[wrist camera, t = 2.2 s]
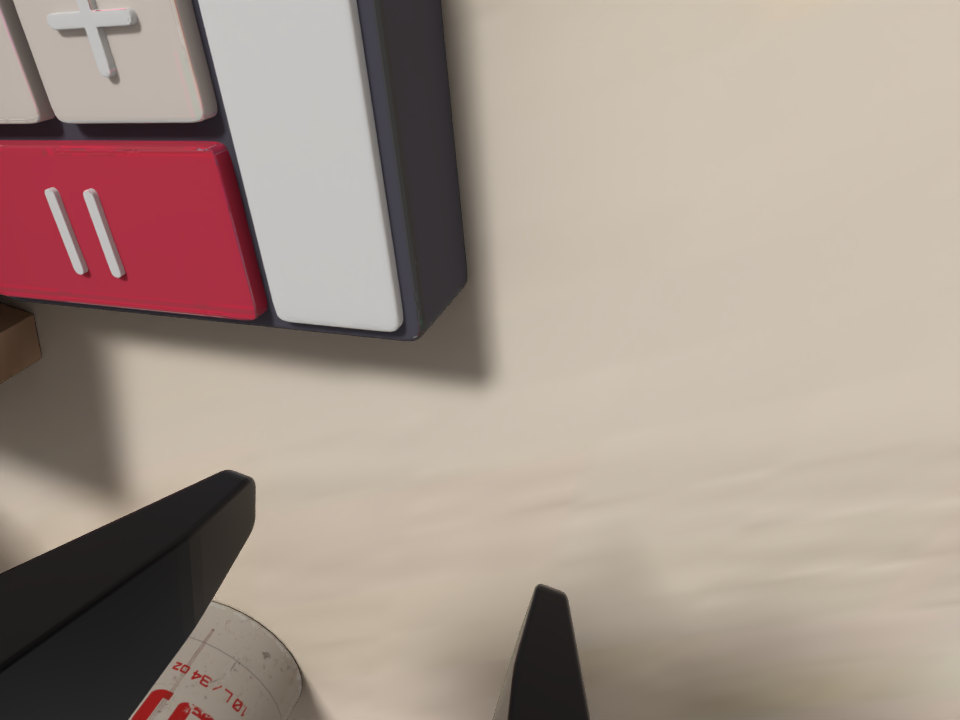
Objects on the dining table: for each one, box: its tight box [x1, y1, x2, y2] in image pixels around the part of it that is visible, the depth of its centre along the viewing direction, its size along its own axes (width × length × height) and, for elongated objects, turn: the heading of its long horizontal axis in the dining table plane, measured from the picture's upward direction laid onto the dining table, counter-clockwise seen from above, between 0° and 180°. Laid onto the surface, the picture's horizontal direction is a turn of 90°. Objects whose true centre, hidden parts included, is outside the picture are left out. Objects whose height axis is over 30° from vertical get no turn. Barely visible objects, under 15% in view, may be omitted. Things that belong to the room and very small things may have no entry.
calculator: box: [0, 0, 467, 341], centre depth 20 cm, size 11×4×15 cm
